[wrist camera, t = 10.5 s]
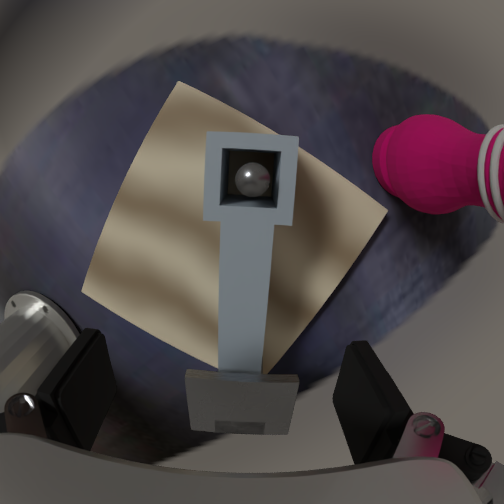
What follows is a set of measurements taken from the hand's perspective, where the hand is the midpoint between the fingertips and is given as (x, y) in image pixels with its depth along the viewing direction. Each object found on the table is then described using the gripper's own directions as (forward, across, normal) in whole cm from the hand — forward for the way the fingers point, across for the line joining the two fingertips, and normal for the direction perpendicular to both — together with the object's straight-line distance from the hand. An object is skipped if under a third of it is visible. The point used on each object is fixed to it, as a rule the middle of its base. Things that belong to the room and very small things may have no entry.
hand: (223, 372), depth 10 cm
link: (+13, -1, -1) cm, 13 cm away
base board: (+14, +1, 0) cm, 15 cm away
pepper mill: (+14, -14, -9) cm, 22 cm away
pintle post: (+14, -1, -7) cm, 16 cm away
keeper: (+15, -1, +7) cm, 16 cm away
